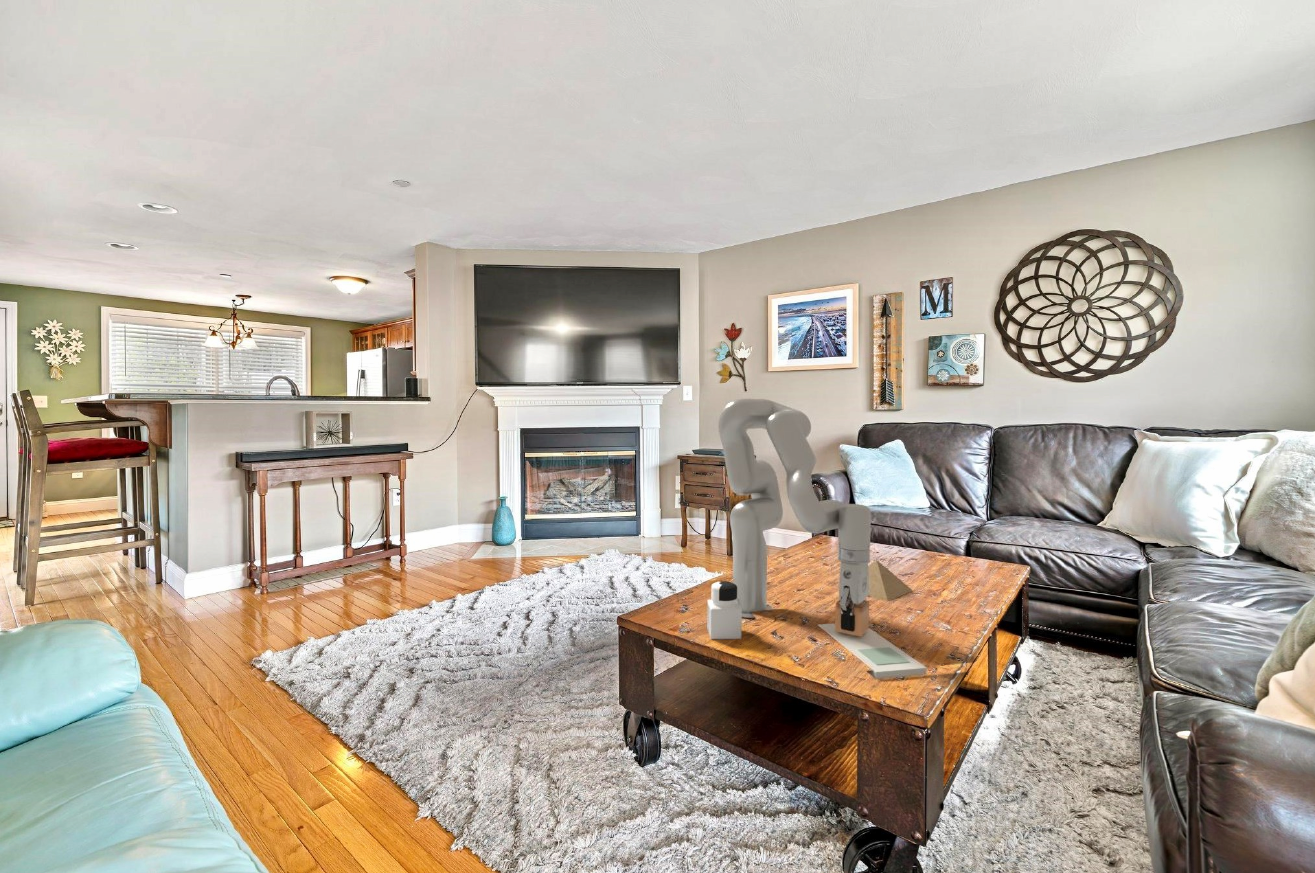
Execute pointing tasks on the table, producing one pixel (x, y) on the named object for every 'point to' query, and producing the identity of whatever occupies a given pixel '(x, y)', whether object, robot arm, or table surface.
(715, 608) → the container
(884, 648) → the post board
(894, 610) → the table surface
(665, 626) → the table surface
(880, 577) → the model pyramid
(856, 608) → the brown block
